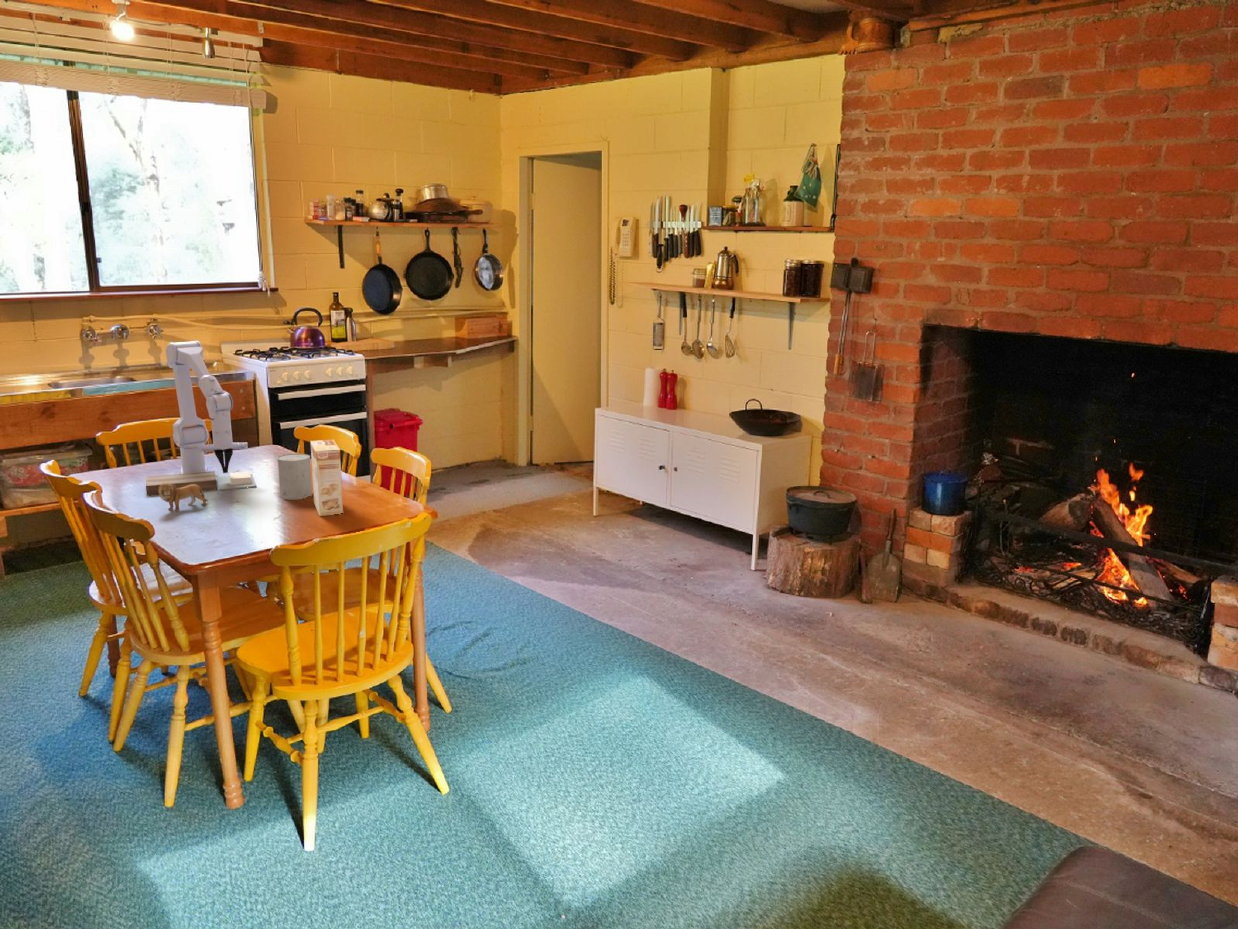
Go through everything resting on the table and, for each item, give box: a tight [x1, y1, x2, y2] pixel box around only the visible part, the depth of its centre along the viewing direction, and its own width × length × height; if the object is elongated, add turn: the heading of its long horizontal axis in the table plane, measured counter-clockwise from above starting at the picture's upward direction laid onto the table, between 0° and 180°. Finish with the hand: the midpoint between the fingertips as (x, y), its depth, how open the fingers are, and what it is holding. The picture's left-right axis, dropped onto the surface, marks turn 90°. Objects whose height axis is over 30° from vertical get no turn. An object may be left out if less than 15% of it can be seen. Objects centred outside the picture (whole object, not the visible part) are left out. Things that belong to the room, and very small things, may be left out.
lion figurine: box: [158, 482, 208, 512], centre depth 274 cm, size 15×5×9 cm, turn 148°
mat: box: [216, 473, 257, 491], centre depth 303 cm, size 16×11×1 cm
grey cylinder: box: [277, 453, 313, 501], centre depth 289 cm, size 10×10×12 cm
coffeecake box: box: [310, 439, 344, 517], centre depth 275 cm, size 15×7×20 cm, turn 23°
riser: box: [145, 470, 218, 496], centre depth 296 cm, size 12×20×3 cm, turn 115°
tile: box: [228, 471, 251, 485], centre depth 303 cm, size 8×6×2 cm
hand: (225, 472), depth 301 cm, fingers closed
